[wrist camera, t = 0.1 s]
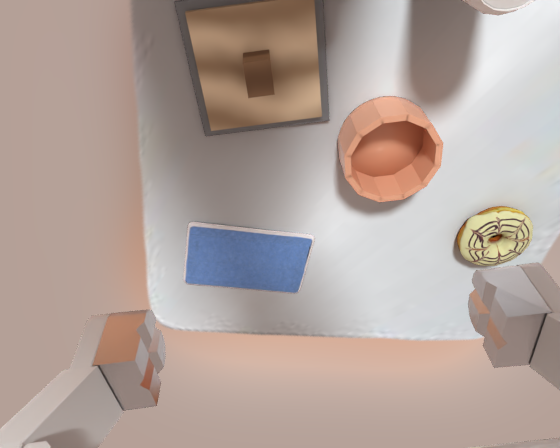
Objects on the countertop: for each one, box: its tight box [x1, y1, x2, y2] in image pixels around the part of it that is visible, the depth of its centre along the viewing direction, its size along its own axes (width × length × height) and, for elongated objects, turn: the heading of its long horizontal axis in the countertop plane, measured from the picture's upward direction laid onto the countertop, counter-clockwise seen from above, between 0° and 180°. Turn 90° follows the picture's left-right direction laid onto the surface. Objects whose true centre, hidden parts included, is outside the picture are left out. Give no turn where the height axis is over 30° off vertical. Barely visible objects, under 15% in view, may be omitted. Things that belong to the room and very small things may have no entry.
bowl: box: [338, 96, 443, 202], centre depth 60 cm, size 12×12×6 cm
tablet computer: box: [183, 222, 315, 293], centre depth 74 cm, size 19×13×1 cm, turn 80°
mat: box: [175, 0, 329, 136], centre depth 56 cm, size 16×16×1 cm
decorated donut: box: [457, 206, 533, 266], centre depth 72 cm, size 10×11×4 cm
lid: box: [185, 0, 322, 131], centre depth 54 cm, size 14×14×4 cm
